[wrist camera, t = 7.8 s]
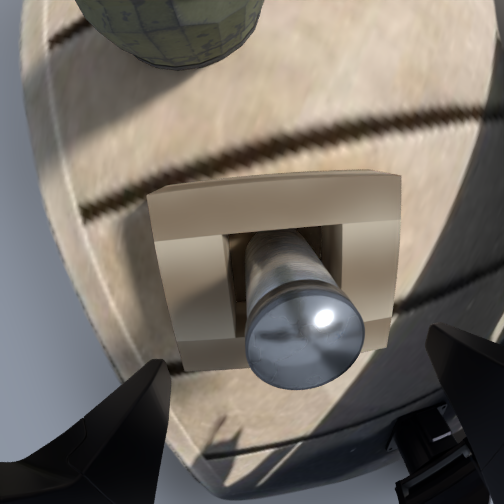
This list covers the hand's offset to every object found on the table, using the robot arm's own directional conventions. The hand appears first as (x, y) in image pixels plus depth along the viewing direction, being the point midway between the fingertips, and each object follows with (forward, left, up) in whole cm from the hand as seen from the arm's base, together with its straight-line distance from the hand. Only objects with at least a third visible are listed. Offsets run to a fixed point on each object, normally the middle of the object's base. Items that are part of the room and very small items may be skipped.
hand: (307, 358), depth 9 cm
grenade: (+16, +4, -10) cm, 19 cm away
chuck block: (0, 0, -10) cm, 10 cm away
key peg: (0, 0, -10) cm, 10 cm away
